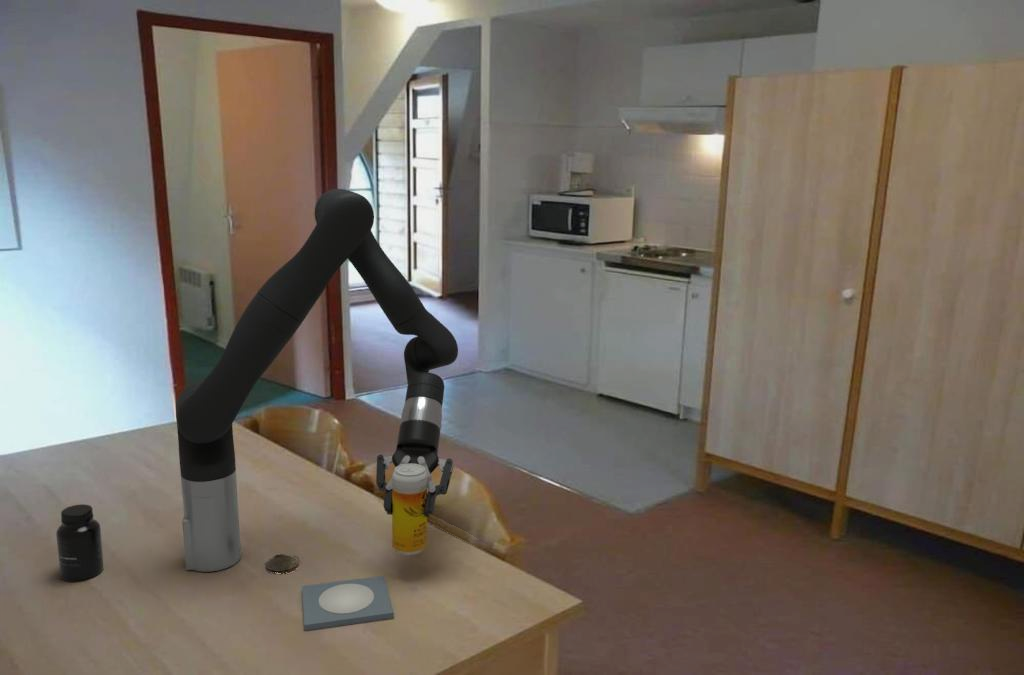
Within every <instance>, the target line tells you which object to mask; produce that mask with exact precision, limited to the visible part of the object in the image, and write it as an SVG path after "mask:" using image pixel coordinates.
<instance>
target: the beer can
mask: <svg viewBox="0 0 1024 675" xmlns="http://www.w3.org/2000/svg"><path fill="white" fill-rule="evenodd" d="M391 478H392V515H391V537H392V538H391V543H392V544H391V546H392V548H393V549H394V550H395V551H396V553H399V554H400V555H404V556H411V555H417V554H420V553H422V552H423V551H424V549H425V548H426V546H427V544H428V541H427V538H428V536H427V535H428V517H425V514H424V511H425V503H426V497H427V493H428V488H427V473H426V471H425V467H424V466H422V465H419V464H412V463H409V464H402V465H399V466H397V467H395V468H394V470H393V473H392V474H391Z"/></svg>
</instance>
